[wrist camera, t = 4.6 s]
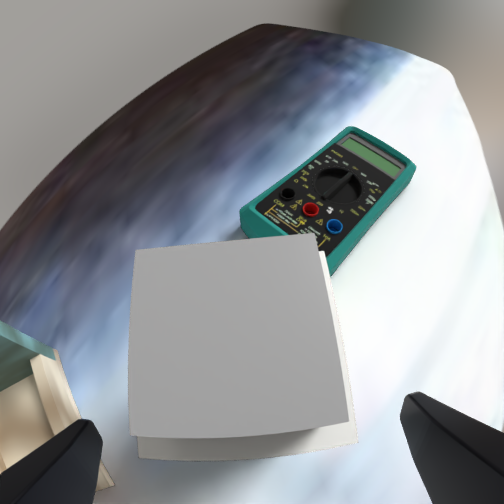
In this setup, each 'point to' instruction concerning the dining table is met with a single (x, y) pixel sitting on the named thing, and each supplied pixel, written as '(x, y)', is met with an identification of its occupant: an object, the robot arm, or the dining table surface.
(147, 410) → the connector plug
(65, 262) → the dining table surface
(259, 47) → the dining table surface
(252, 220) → the digital multimeter
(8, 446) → the tray
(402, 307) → the dining table surface
